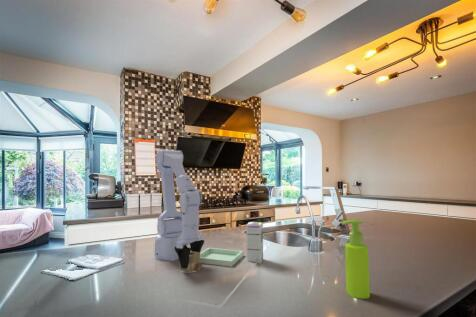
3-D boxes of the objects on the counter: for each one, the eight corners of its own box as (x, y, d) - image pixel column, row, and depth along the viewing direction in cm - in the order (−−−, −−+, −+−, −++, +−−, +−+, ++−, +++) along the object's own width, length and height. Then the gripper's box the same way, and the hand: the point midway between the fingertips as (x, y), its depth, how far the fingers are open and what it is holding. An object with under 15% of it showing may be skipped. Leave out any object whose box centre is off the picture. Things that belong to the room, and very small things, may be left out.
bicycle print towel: (125, 264, 96) (125, 258, 96) (71, 284, 77) (71, 277, 78) (92, 257, 104) (92, 252, 104) (36, 274, 85) (36, 267, 86)
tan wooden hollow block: (179, 269, 86) (179, 254, 87) (187, 264, 91) (187, 250, 92) (196, 272, 84) (196, 256, 85) (203, 267, 89) (203, 252, 89)
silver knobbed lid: (173, 272, 85) (173, 261, 86) (185, 264, 93) (185, 254, 93) (194, 275, 83) (194, 263, 83) (205, 267, 90) (205, 256, 91)
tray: (192, 263, 94) (192, 257, 95) (208, 253, 107) (208, 247, 107) (231, 268, 89) (231, 261, 90) (243, 257, 102) (243, 251, 102)
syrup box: (261, 263, 94) (261, 224, 95) (246, 262, 95) (246, 223, 97) (263, 259, 100) (263, 221, 101) (248, 258, 101) (248, 221, 102)
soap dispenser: (339, 289, 72) (336, 219, 74) (362, 288, 73) (359, 218, 74) (349, 299, 66) (347, 222, 68) (374, 298, 67) (371, 222, 69)
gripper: (190, 229, 81) (189, 272, 80) (209, 222, 95) (209, 259, 94) (171, 228, 83) (170, 270, 82) (192, 221, 97) (192, 257, 96)
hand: (189, 264), depth 88 cm, fingers open, 7 cm apart
